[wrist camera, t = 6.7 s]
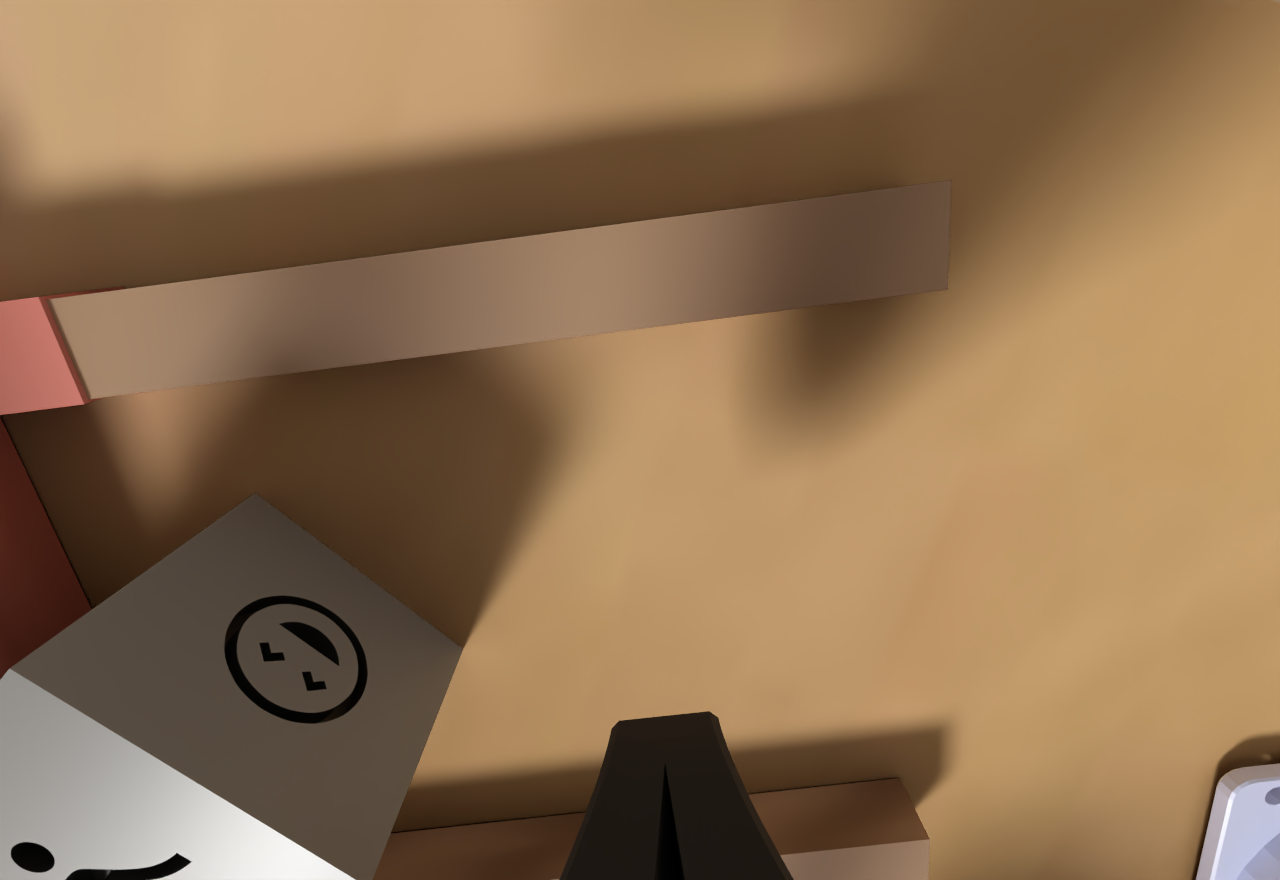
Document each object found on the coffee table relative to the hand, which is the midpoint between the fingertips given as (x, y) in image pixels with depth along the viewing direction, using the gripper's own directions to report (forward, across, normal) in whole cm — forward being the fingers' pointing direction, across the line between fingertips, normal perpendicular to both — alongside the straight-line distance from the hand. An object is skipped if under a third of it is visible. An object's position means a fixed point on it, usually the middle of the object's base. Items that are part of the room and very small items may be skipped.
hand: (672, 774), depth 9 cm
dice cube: (+4, +8, 0) cm, 9 cm away
